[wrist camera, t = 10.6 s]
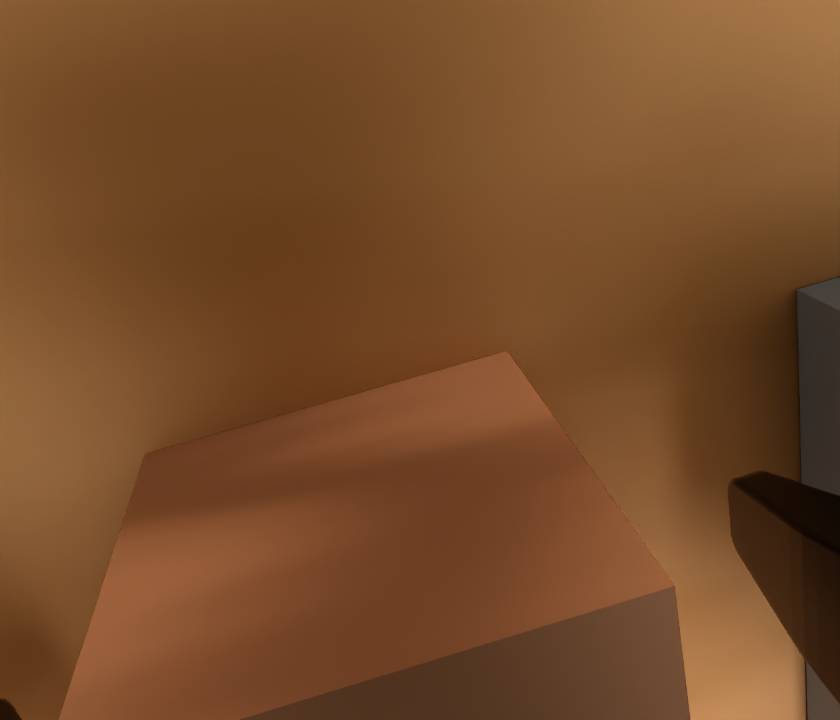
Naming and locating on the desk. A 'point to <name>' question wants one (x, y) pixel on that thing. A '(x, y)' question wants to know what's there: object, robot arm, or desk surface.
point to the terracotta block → (383, 571)
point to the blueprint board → (820, 423)
